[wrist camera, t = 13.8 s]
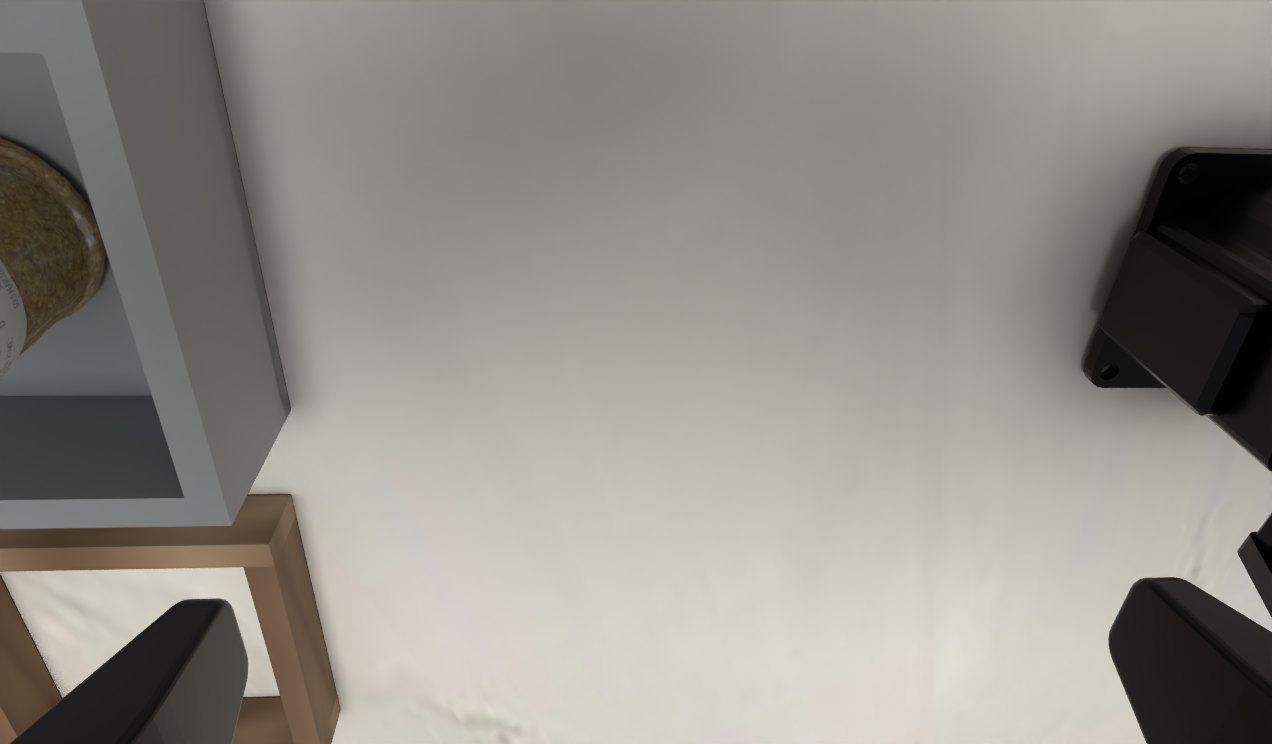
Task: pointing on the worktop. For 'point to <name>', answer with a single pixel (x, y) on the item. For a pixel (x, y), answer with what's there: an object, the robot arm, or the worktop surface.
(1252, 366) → the robot arm
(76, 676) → the worktop surface
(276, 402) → the grey bin
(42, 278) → the sprinkles bottle
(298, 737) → the walnut holder
